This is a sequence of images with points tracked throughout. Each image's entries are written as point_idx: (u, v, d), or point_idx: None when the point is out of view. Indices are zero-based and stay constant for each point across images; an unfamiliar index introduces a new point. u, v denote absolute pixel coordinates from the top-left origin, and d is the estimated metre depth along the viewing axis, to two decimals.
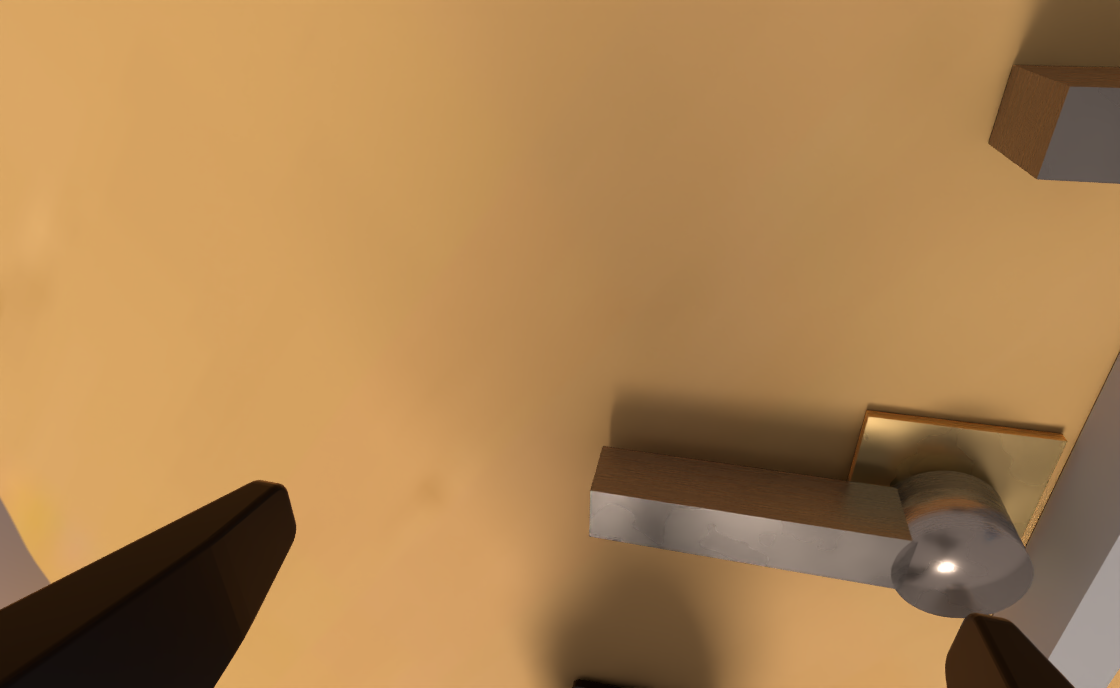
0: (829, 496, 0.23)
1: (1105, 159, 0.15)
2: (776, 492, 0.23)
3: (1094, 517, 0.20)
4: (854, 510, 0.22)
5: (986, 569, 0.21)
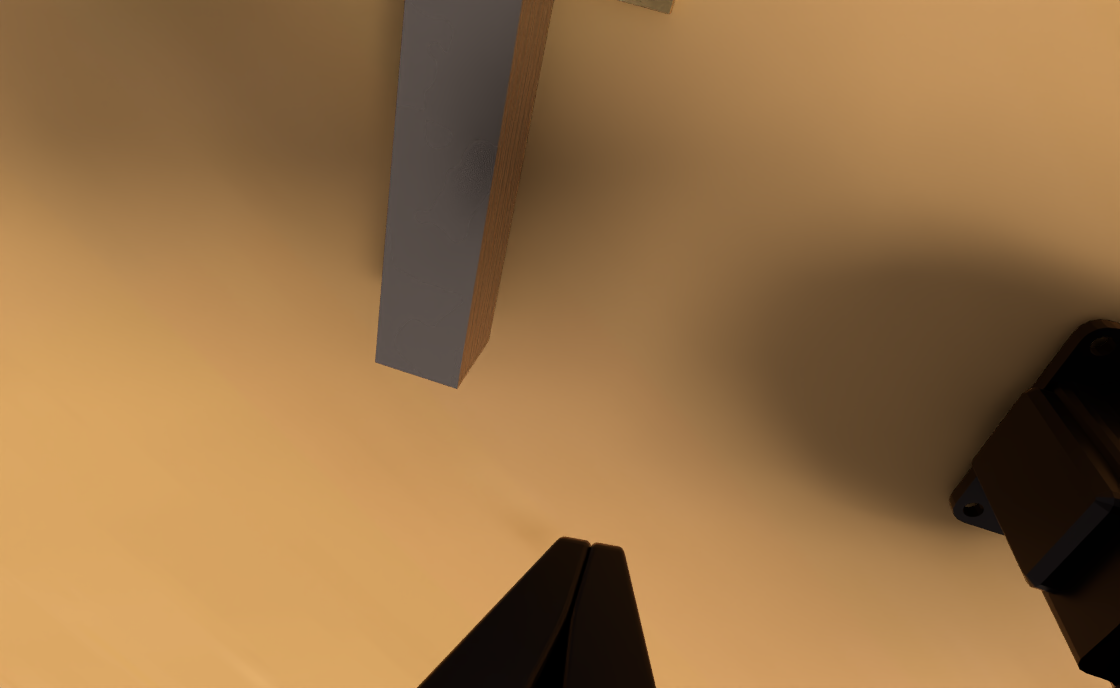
0: None
1: None
2: None
3: None
4: None
5: None
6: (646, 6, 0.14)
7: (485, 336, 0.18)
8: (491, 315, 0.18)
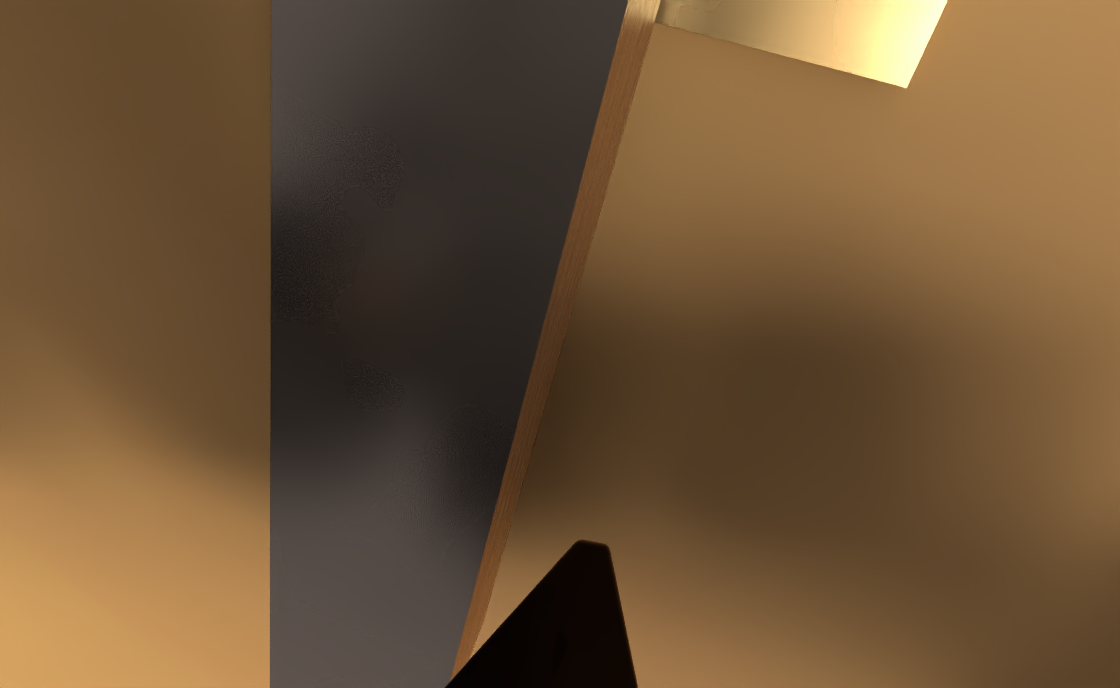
0: None
1: None
2: None
3: None
4: None
5: None
6: (853, 70, 0.06)
7: (478, 629, 0.10)
8: (489, 594, 0.10)
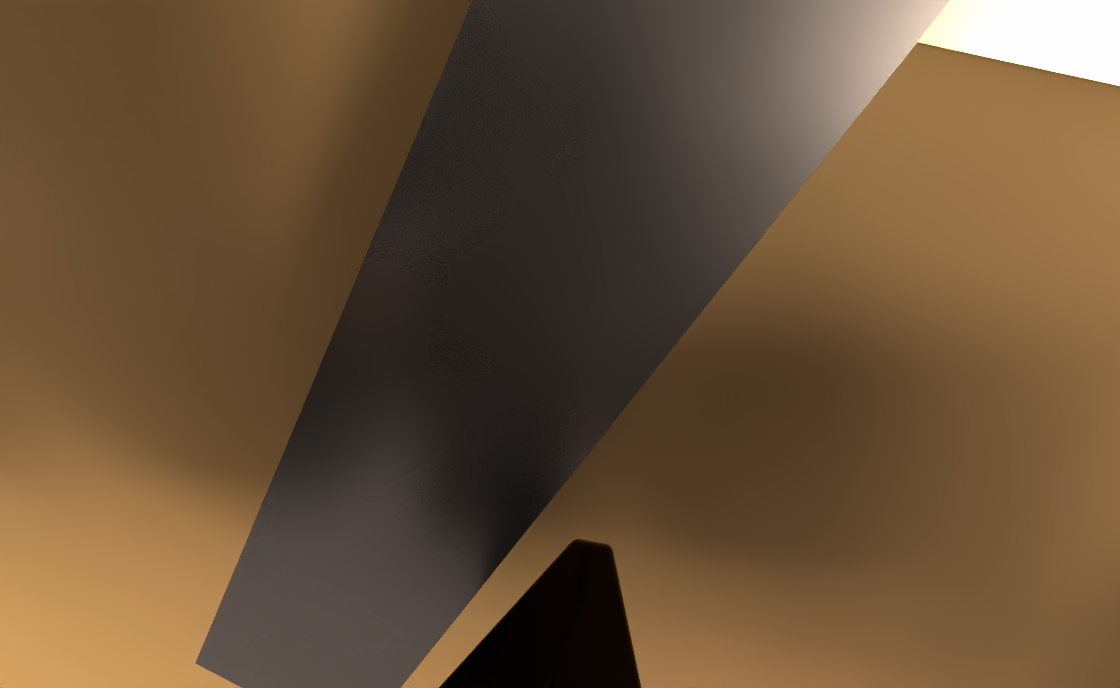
0: None
1: None
2: None
3: None
4: None
5: None
6: None
7: None
8: None
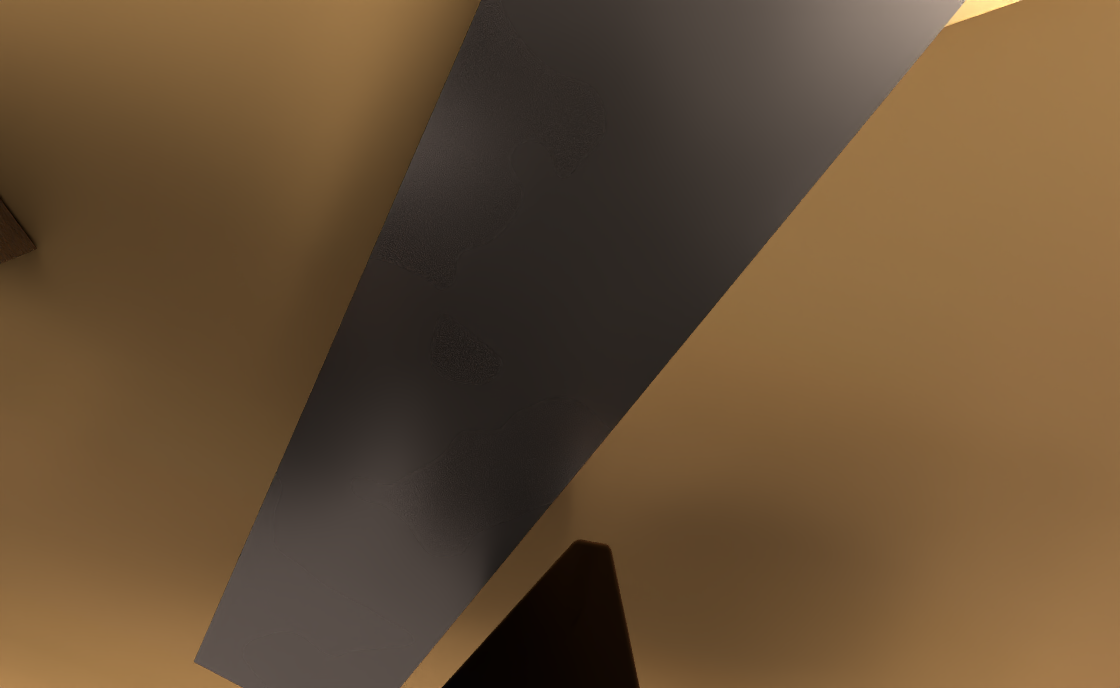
0: None
1: None
2: None
3: None
4: None
5: None
6: None
7: None
8: None
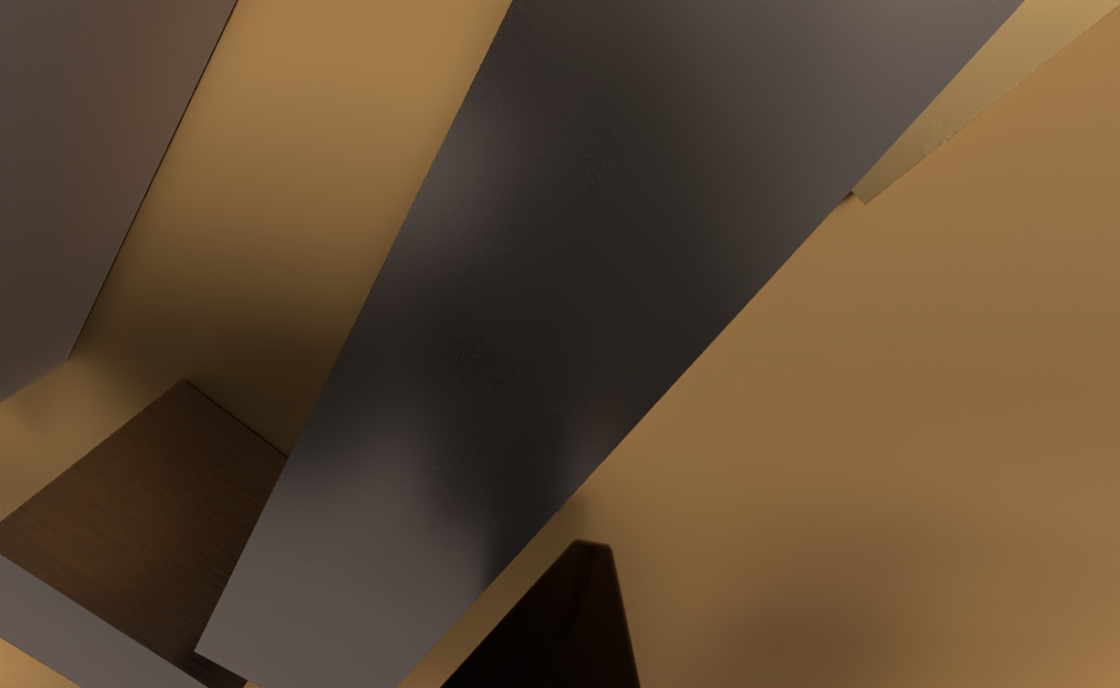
0: None
1: (139, 666, 0.09)
2: None
3: None
4: None
5: None
6: None
7: None
8: None
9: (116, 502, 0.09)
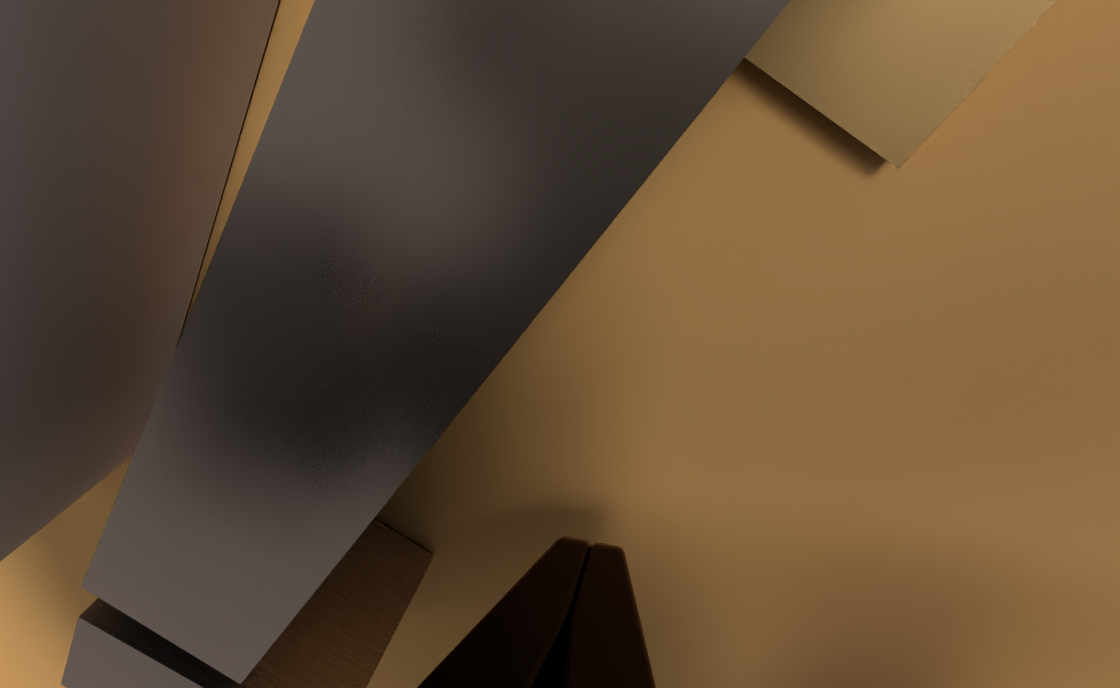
0: None
1: None
2: None
3: None
4: None
5: None
6: None
7: None
8: None
9: None
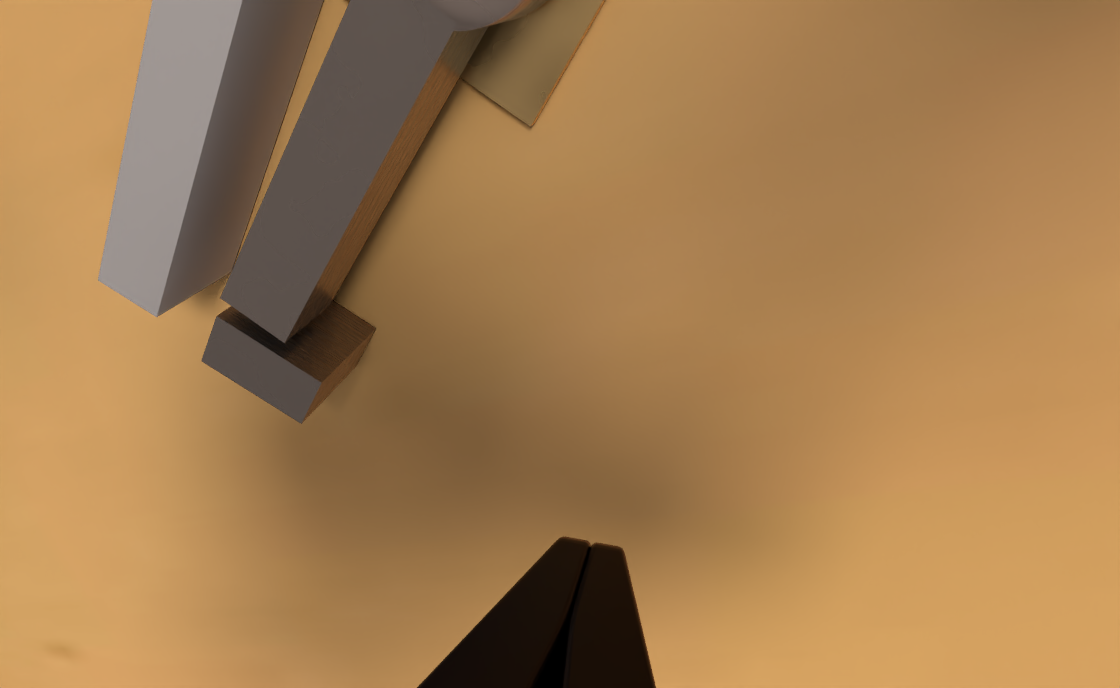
0: None
1: (282, 372, 0.20)
2: None
3: None
4: None
5: None
6: None
7: (326, 303, 0.21)
8: (336, 288, 0.21)
9: None
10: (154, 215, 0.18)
